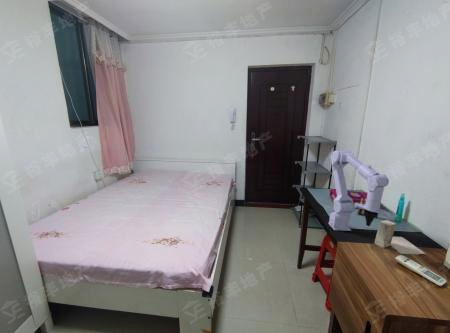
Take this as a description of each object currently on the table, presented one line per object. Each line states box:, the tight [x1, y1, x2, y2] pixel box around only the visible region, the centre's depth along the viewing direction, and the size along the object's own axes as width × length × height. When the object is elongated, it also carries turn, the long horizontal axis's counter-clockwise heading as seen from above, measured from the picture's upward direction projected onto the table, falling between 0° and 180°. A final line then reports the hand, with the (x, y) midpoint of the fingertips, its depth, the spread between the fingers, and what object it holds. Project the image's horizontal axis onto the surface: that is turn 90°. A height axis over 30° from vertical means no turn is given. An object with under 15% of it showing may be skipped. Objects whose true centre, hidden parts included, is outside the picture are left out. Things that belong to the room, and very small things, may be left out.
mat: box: [389, 236, 426, 255], centre depth 108 cm, size 12×14×1 cm
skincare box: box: [374, 219, 397, 249], centre depth 107 cm, size 6×4×12 cm
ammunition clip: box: [357, 198, 379, 219], centre depth 137 cm, size 11×2×12 cm, turn 66°
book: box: [329, 188, 382, 210], centre depth 158 cm, size 21×28×8 cm
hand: (368, 225), depth 106 cm, fingers closed
